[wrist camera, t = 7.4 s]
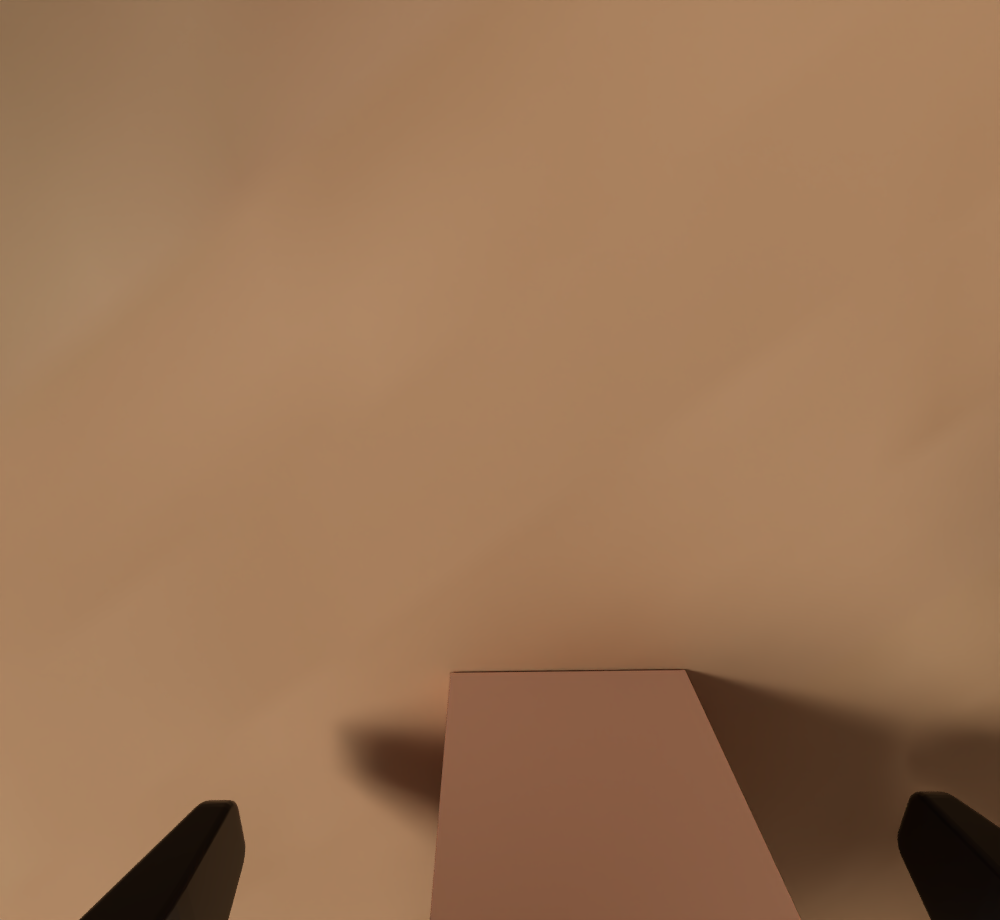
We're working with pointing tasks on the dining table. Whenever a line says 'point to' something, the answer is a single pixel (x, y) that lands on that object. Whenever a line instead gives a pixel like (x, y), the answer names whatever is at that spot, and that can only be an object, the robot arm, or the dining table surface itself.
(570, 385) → the dining table surface
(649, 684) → the tethered block
